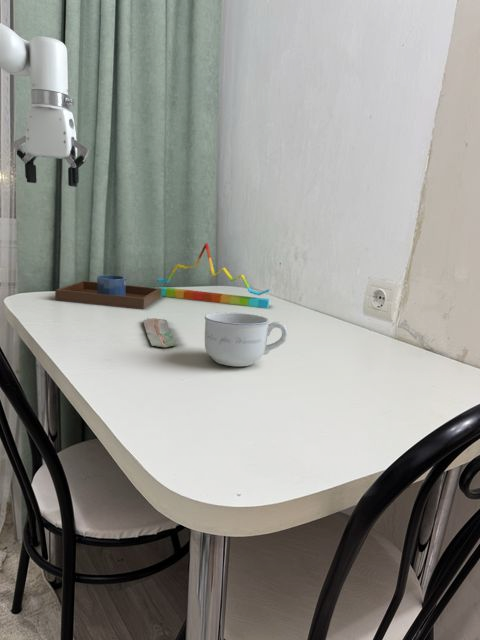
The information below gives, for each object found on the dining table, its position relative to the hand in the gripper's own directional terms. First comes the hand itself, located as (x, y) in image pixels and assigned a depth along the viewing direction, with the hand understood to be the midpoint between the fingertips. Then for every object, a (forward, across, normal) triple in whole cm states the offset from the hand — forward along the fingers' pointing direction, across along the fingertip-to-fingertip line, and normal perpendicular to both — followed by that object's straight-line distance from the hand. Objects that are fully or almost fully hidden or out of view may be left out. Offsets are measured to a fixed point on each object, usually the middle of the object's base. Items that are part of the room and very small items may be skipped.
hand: (52, 184), depth 116 cm
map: (+26, -32, +23) cm, 47 cm away
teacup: (+26, -50, +36) cm, 67 cm away
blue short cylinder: (+26, -12, -5) cm, 29 cm away
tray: (+26, -12, -5) cm, 29 cm away
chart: (+26, -36, -16) cm, 47 cm away
